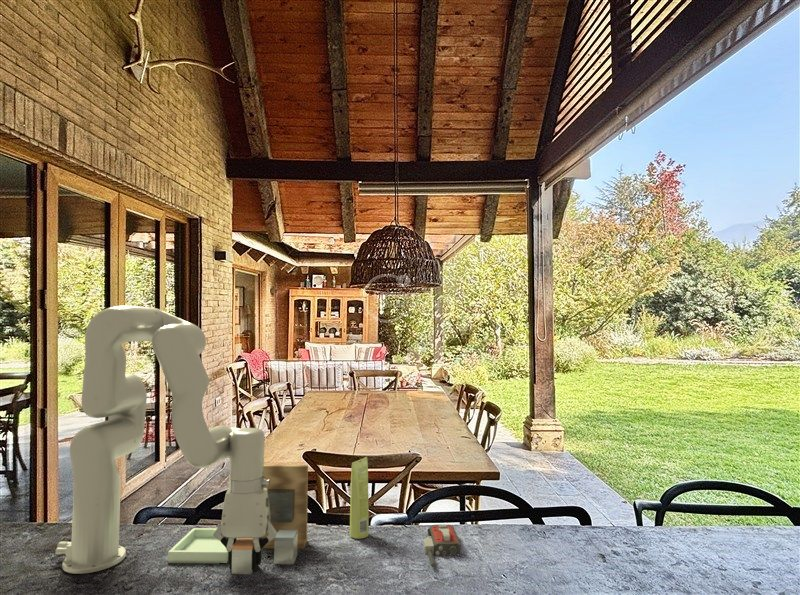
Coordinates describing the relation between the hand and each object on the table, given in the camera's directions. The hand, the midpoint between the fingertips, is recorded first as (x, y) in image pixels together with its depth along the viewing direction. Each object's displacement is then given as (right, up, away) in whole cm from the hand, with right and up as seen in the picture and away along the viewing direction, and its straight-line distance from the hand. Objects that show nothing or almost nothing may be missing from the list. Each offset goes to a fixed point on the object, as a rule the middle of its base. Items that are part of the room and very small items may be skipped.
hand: (244, 566), depth 113 cm
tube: (+24, -2, +18) cm, 31 cm away
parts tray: (-12, -1, +10) cm, 15 cm away
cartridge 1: (0, -1, 0) cm, 1 cm away
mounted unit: (+4, -1, +13) cm, 14 cm away
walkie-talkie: (+45, -2, +10) cm, 46 cm away
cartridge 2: (+8, -1, +5) cm, 10 cm away
